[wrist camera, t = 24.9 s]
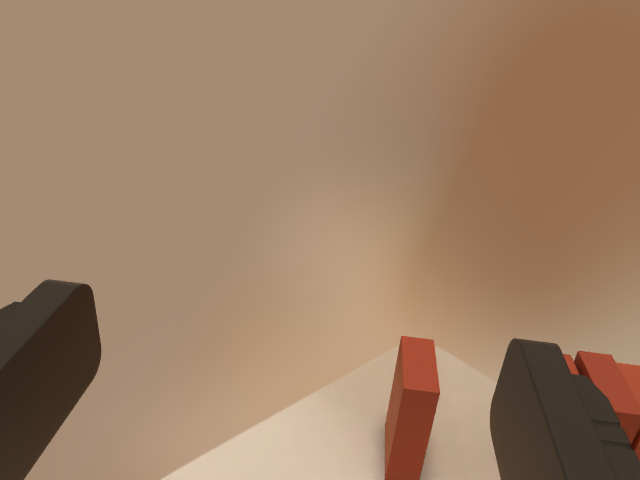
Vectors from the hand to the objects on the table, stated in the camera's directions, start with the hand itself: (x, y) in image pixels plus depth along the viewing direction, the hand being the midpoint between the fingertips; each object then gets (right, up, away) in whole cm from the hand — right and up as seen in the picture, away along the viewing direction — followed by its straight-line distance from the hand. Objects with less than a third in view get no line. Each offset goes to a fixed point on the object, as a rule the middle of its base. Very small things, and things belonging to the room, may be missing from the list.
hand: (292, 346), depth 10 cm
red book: (+7, -16, +35) cm, 39 cm away
